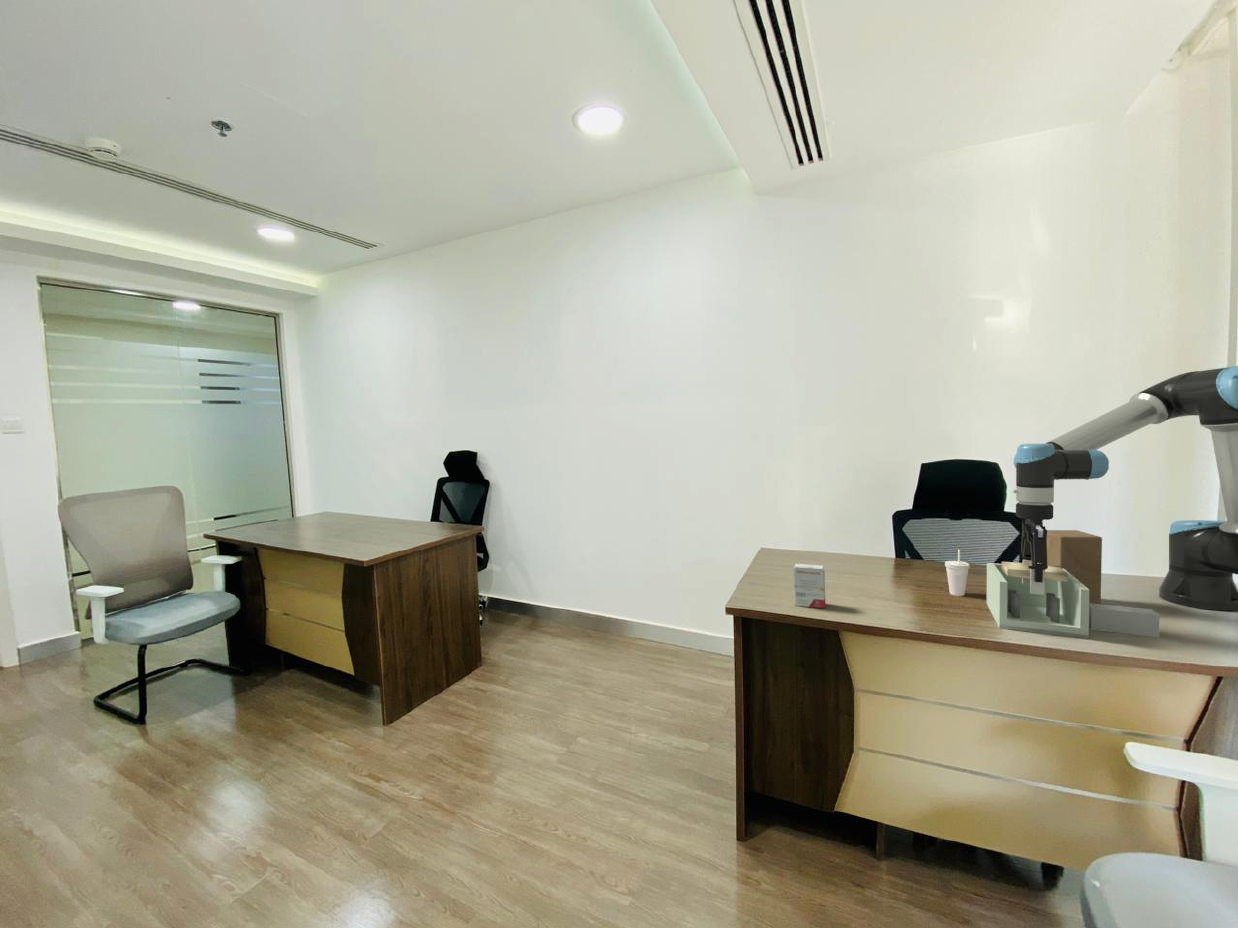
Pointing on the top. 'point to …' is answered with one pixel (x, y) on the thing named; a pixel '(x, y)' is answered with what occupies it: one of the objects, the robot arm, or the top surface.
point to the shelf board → (1024, 572)
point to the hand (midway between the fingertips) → (1032, 588)
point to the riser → (1124, 620)
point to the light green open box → (1038, 605)
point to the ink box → (809, 585)
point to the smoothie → (957, 576)
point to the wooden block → (1077, 558)
